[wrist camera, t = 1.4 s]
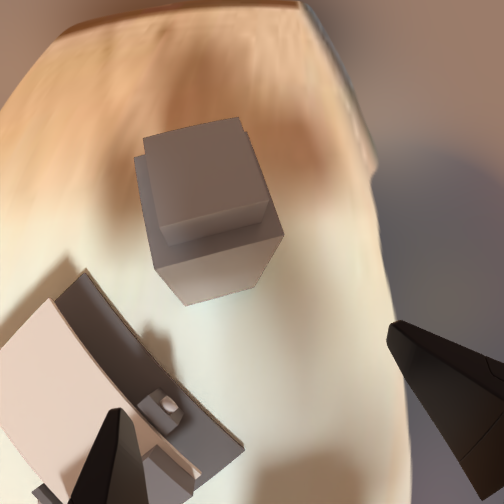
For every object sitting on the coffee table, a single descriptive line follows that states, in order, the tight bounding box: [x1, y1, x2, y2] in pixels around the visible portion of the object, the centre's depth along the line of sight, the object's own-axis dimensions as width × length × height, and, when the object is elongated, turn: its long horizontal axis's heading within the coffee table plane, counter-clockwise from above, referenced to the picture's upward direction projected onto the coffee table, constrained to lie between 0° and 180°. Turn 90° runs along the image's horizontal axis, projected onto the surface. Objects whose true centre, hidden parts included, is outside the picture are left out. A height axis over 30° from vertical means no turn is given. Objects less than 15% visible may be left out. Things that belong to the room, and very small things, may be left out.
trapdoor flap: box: [0, 298, 202, 504], centre depth 14 cm, size 14×10×3 cm
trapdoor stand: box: [32, 273, 245, 504], centre depth 17 cm, size 17×15×4 cm
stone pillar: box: [134, 117, 284, 306], centre depth 17 cm, size 5×5×13 cm
